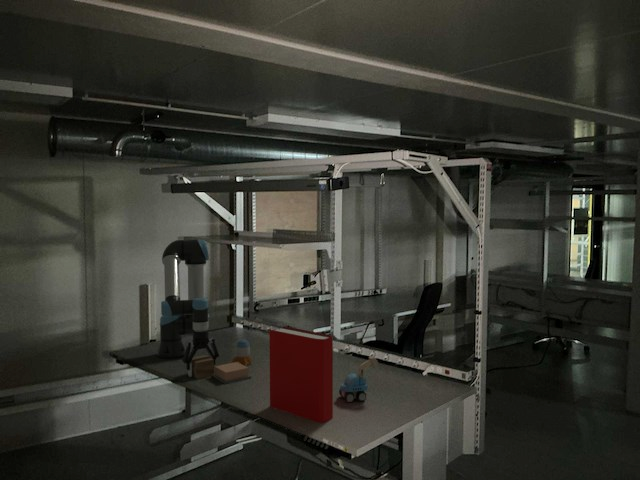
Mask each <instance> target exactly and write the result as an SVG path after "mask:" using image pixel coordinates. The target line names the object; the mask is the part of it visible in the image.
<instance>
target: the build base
mask: <svg viewBox="0 0 640 480" xmlns="http://www.w3.org/2000/svg"><path fill="white" fill-rule="evenodd" d="M249 370H250V369H249V367H248V366H247V367H246V366H244V365H242V364H240V363H239V362H238V361H237V362H234V363H232V362H231V363H225V364H220V365H214V374H212V376H211V377H212V378H214V379H216V380H217V381H220V382H221V383H222V384H224V385H227V384H230V383H232V384H233V383H235V382H240V381H246V380H250V379H252V375H250V373H249V372H250V371H249Z"/></svg>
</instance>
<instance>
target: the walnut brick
mask: <svg viewBox="0 0 640 480" xmlns="http://www.w3.org/2000/svg"><path fill="white" fill-rule="evenodd" d="M190 363H192V377H193V378H195V379H197V380H198V379H202V378H206V377H207V378H208V377H212V374H215V365H214V359H212V357H211V356H209V355H206V354H203V355H197V356H194V357H193V359H192V360H191V362H190Z"/></svg>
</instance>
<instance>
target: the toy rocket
mask: <svg viewBox="0 0 640 480" xmlns="http://www.w3.org/2000/svg"><path fill="white" fill-rule="evenodd" d="M235 352H236V356H235V357H234V358H233V359H232V361H231V363H234V362H238V363H240V364H242V365H244V366H246V367H248V364H249V365H252V362H253V361H252V360H253V359H252V357H251V356H250V353H251V348H250V343H249V341H248V340H247V339H240V340H239V341H238V342H237V343H236V351H235ZM247 363H248V364H247Z"/></svg>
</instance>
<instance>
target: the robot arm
mask: <svg viewBox="0 0 640 480" xmlns="http://www.w3.org/2000/svg"><path fill="white" fill-rule="evenodd" d="M209 255H210V254H209V248H208V243H207V241H206V240H204V239H176V240H174V241H172V242H171V243H169V244H168V245H167V246H166V247H165V249H164V251H163V252H162V256H161V262H162V265H163V266H164V267H163V268H164V269H163V270H164V272H163V273H164V275H163V276H164V300H162V301H161V303H160V304H161V305H160V307H161V308H160V309H161V310H160V311H161V313H160V314H161V316H160V318H159V320H160V321H159V326H160V331H159V333H160V335H159V337H160V342H159V346H158V349H157V352H156V353H157V356H156V357H158V358H161V359H175V358H181V357H182V356H183V357H182V362H183V364H186V365H185V366H186V370H187V372H188V373H187V375H188V377H190V378H191V377H193V376H192V363H190V362H191V360H192V359H193V357H195V354H196V353H197V352H198V350H202V349H203V350H206V352H207V353H208V354H209V357H210V358H212V359H214V366H216V360H217V358H220V354H219V352H218V349H217V345H216V342H215V341H216V339H215V338H212V337H211V338H209V337H210V336H209V326H210V313H209V300H208V298H206V297H205V293H204V292H205V289H204V287H205V286H204V277H205V275H204V272H205V271H204V267H205V266H206V264H207V261H209V259H210V256H209ZM181 261H182V262H184V264H185V266H186V267H187V299H181V287H180V286H181V283H180V263H181ZM183 336H192V341H187V342H186V347H185V345H184V342H183ZM209 343H210V345H211V348H212V349H211V348H210V347H209V345H208V344H209ZM191 348H192V349H191Z"/></svg>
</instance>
